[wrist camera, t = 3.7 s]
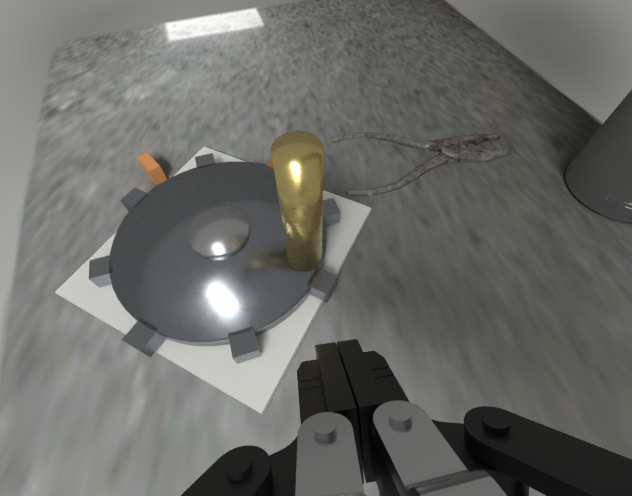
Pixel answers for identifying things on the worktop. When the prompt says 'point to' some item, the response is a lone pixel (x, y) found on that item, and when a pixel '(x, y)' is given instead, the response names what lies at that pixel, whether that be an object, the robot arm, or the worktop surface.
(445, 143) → the pliers
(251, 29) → the worktop surface
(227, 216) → the sprocket
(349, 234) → the base plate
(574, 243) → the worktop surface
